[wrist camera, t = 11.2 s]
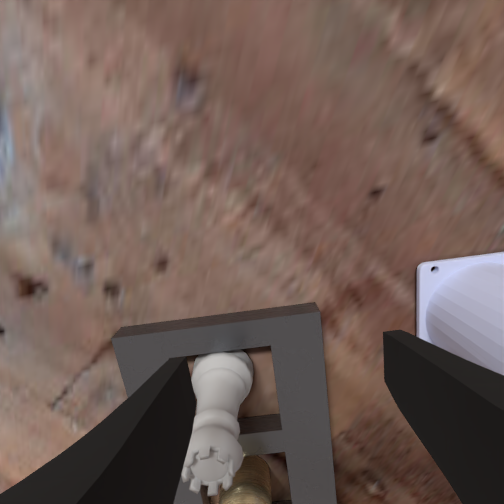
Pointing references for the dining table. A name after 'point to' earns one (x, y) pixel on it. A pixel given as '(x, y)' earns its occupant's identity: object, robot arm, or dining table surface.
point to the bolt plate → (260, 427)
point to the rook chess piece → (217, 419)
